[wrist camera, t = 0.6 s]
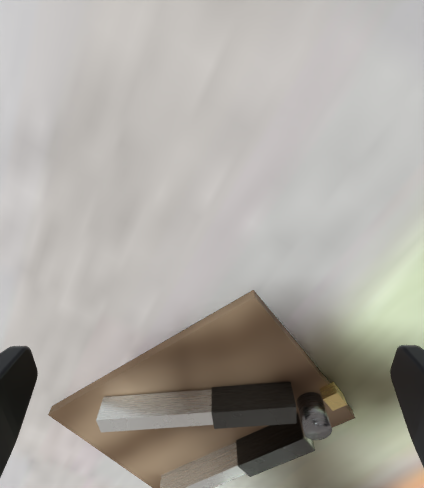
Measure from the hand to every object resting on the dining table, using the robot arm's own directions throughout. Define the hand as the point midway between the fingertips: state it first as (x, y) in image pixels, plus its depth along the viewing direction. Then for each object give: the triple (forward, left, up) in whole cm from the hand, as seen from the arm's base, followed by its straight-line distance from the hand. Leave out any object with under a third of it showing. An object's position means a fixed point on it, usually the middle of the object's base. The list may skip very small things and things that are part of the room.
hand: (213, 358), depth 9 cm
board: (-15, +12, -14) cm, 24 cm away
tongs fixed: (-20, +11, -13) cm, 26 cm away
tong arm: (-13, +11, -13) cm, 21 cm away
